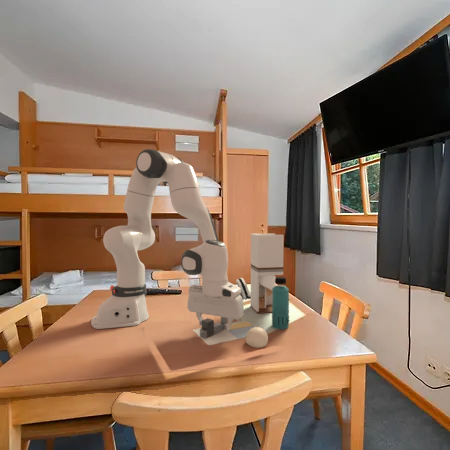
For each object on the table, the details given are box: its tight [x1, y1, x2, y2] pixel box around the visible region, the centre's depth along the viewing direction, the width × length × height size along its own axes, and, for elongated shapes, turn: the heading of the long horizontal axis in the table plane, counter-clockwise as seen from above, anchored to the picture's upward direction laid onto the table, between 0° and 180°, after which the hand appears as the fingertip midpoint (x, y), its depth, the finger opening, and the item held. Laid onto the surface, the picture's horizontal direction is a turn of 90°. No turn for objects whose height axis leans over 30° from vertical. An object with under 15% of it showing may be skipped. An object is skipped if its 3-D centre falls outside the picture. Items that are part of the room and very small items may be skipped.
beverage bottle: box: [271, 276, 290, 330], centre depth 110 cm, size 6×7×20 cm
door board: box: [192, 317, 255, 346], centre depth 104 cm, size 22×14×6 cm, turn 117°
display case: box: [250, 233, 285, 315], centre depth 129 cm, size 11×11×35 cm
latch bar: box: [200, 318, 223, 338], centre depth 102 cm, size 9×3×5 cm, turn 138°
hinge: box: [235, 277, 251, 299], centre depth 160 cm, size 17×5×10 cm, turn 6°
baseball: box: [245, 326, 269, 349], centre depth 94 cm, size 7×7×7 cm
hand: (214, 327), depth 100 cm, fingers open, 8 cm apart
